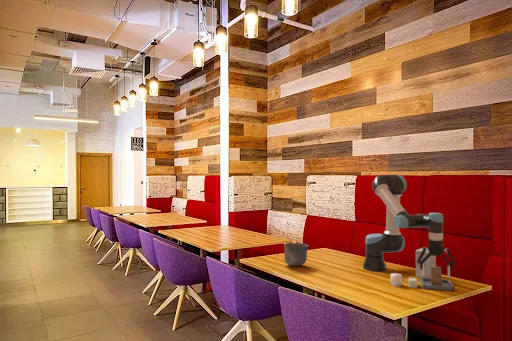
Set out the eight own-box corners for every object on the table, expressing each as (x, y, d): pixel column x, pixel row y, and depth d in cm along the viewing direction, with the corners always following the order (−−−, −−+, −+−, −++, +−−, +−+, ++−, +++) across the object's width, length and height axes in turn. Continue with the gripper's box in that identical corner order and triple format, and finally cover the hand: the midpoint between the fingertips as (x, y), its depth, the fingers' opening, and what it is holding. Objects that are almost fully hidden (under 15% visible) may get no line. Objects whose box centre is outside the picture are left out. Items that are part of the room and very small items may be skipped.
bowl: (312, 264, 268) (312, 243, 269) (304, 270, 253) (303, 248, 253) (289, 262, 277) (289, 241, 277) (280, 267, 261) (279, 245, 261)
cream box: (408, 284, 220) (408, 277, 220) (416, 285, 218) (415, 278, 218) (409, 287, 214) (409, 280, 214) (417, 288, 213) (417, 281, 213)
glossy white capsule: (390, 282, 223) (390, 272, 223) (401, 283, 221) (401, 273, 221) (390, 285, 217) (390, 275, 217) (402, 286, 215) (402, 276, 215)
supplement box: (421, 273, 243) (421, 247, 243) (436, 276, 236) (436, 249, 236) (415, 276, 236) (415, 250, 236) (430, 279, 229) (430, 252, 230)
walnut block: (430, 283, 219) (430, 266, 219) (440, 283, 218) (439, 266, 218) (432, 285, 214) (432, 268, 215) (441, 286, 213) (441, 268, 213)
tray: (419, 281, 226) (419, 277, 226) (448, 283, 221) (448, 279, 221) (423, 288, 211) (423, 284, 211) (454, 291, 206) (454, 287, 206)
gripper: (413, 239, 216) (413, 276, 216) (461, 242, 209) (461, 279, 209) (412, 237, 224) (412, 272, 224) (458, 239, 216) (458, 276, 216)
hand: (435, 276), depth 216 cm, fingers open, 13 cm apart
